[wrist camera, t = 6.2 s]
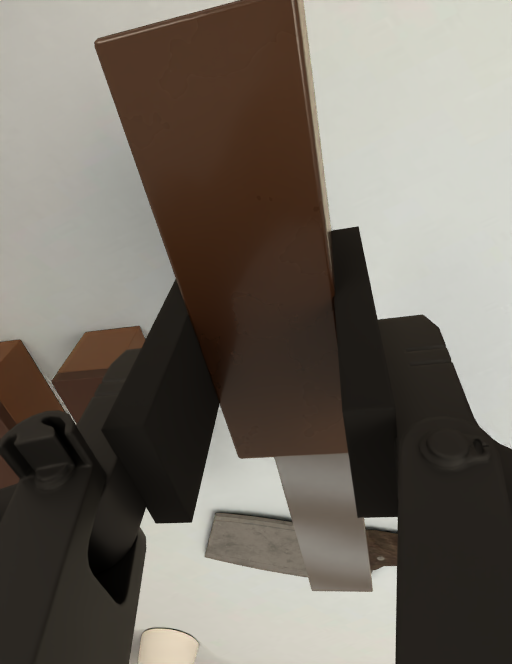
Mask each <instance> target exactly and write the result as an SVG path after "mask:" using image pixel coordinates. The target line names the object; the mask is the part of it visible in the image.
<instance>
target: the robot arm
mask: <svg viewBox="0 0 512 664" xmlns="http://www.w3.org/2000/svg"><path fill="white" fill-rule="evenodd" d="M331 235H332V251H333V266H334V281H335V296H334V304H335V318H336V332H337V346H338V359H339V373H340V387H341V401H342V413H343V420H344V427H345V434H346V441H347V448H348V455H349V462H350V469H351V476H352V483H353V490H354V497H355V504H356V511H357V518H370V517H398V545H397V605H396V664H512V449H510V448H508V447H506V446H503V445H501V444H499V443H498V442H497V441H495V440H494V439H492V438H491V437H490V436H489V435H488V434H487V433H486V432H485V431H484V430H482V429H481V428H480V427H479V425H478V424H477V422H476V420H475V418H474V416H473V414H472V411H471V409H470V406H469V404H468V401H467V398H466V396H465V393H464V391H463V388H462V386H461V383H460V381H459V378H458V375H457V373H456V370H455V368H454V365H453V363H452V362H451V357H450V355H449V352H448V350H447V348H446V345H445V342H444V340H443V337H442V334H441V332H440V329H439V327H437V326H436V325H435V324H434V323H432V322H431V321H430V320H429V319H428V318H426V317H425V316H424V315H415V316H406V317H397V318H388V319H380V320H377V315H376V310H375V305H374V300H373V295H372V290H371V286H370V281H369V276H368V271H367V266H366V261H365V256H364V252H363V247H362V242H361V237H360V232H359V227H352V228H346V229H339V230H333V231H331ZM218 407H219V400H218V397H217V394H216V392H215V389H214V386H213V383H212V380H211V377H210V374H209V372H208V369H207V366H206V363H205V360H204V357H203V354H202V352H201V349H200V346H199V343H198V340H197V337H196V334H195V332H194V329H193V326H192V323H191V320H190V317H189V314H188V312H187V309H186V306H185V303H184V300H183V297H182V294H181V292H180V289H179V286H178V283H177V280H176V279H175V282H174V284H173V286H172V288H171V290H170V292H169V294H168V296H167V298H166V300H165V302H164V304H163V306H162V308H161V310H160V312H159V314H158V316H157V318H156V320H155V322H154V324H153V326H152V328H151V330H150V332H149V334H148V336H147V338H146V340H145V342H144V344H143V346H142V348H138V349H129V350H125V351H124V352H123V353H122V354H121V355H120V356H119V357H118V358H117V359H116V360H115V361H114V362H113V363H112V364H111V365H110V366H109V368H108V370H107V372H106V373H105V375H104V377H103V379H102V384H99V386H98V388H97V390H96V391H95V393H94V397H92V398H91V400H90V402H89V404H88V406H87V407H86V409H85V411H84V413H83V415H82V416H81V418H80V420H79V422H78V423H77V425H75V423H74V422H73V420H72V418H71V417H70V415H69V414H68V413H65V412H63V411H60V410H55V411H45V412H42V413H39V414H36V415H33V416H30V417H29V418H27V419H25V420H23V421H21V422H20V423H18V424H16V425H15V426H14V427H13V428H12V429H10V430H9V431H8V432H7V433H6V434H5V435H3V437H2V438H1V439H0V455H1V456H2V458H3V459H4V460H5V461H6V462H7V464H8V465H9V466H10V467H11V469H12V470H13V471H14V472H15V474H16V475H17V476H18V477H19V479H20V480H19V482H18V483H17V484H14V485H11V486H8V487H5V488H2V489H0V664H129V659H130V653H131V646H132V640H133V633H134V626H135V620H136V613H137V606H138V600H139V593H140V586H141V580H142V573H143V567H144V560H145V553H146V536H145V535H144V533H143V531H142V530H141V528H140V524H141V521H142V518H143V515H144V512H145V509H146V508H147V509H148V511H149V513H150V514H151V516H152V518H153V519H154V521H155V523H190V522H192V520H193V515H194V511H195V507H196V502H197V498H198V494H199V489H200V485H201V481H202V477H203V472H204V468H205V464H206V459H207V455H208V451H209V446H210V442H211V438H212V433H213V429H214V425H215V420H216V416H217V412H218Z"/></svg>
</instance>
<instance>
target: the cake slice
mask: <svg viewBox="0 0 512 664" xmlns="http://www.w3.org/2000/svg"><path fill="white" fill-rule="evenodd" d="M144 342H145V338H144V335H143V333H142V331H141V328H140V326H135V327H126V328H118V329H109V330H100V331H91V332H85V333H84V335H83V336H82V338H81V339H80V341H79V342H78V343H77V345H76V346H75V348H74V349H73V351H72V352H71V354H70V355H69V356H68V358H67V359H66V361H65V362H64V364H63V365H62V367H61V368H60V369H59V371H58V372H57V374H56V375H55V377H54V378H53V380H52V384H53V385H54V387H55V389H56V390H57V392H58V394H59V395H60V397H61V398H62V400H63V402H64V403H65V405H66V407H67V408H68V410H69V412H70V413H71V415H72V417H73V418H74V420H75V422H76V423H78V422H79V420H80V418H81V416H82V415H83V413H84V411H85V409H86V407H87V406H88V404H89V402H90V400H91V398H92V397H94V393H95V391H96V390H97V388H98V386H99V384H102V379H103V377H104V375H105V373H106V372H107V370H108V368H109V366H110V365H111V364H112V363H113V362H114V361H115V360H116V359H117V358H118V357H119V356H120V355H121V354H122V353H123V352H124V351H125V350H129V349H138V348H142V346H143V344H144Z"/></svg>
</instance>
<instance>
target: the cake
mask: <svg viewBox="0 0 512 664" xmlns="http://www.w3.org/2000/svg"><path fill="white" fill-rule="evenodd" d="M55 410H60V411H63V412H64V410H63V408H62V407H61V405H60V403H59V402H58V400H57V399H56V397H55V395H54V394H53V392H52V390H51V389H50V387H49V386H48V384H47V382H46V381H45V379H44V377H43V376H42V374H41V373H40V371H39V369H38V368H37V366H36V364H35V363H34V361H33V360H32V358H31V356H30V355H29V353H28V351H27V350H26V348H25V347H24V345H23V343H22V342H21V340H13V341H5V342H0V439H1V438H2V437H3V435H5V434H6V433H7V432H8V431H9V430H10V429H12V428H13V427H14V426H15V425H16V424H18V423H20V422H21V421H23V420H25V419H27V418H29V417H30V416H33V415H36V414H39V413H42V412H45V411H55ZM19 480H20V479H19V477H18V476H17V475H16V474H15V472H14V471H13V470H12V469H11V467H10V466H9V465H8V464H7V462H6V461H5V460H4V459H3V458H2V456H1V455H0V489H2V488H5V487H8V486H11V485H14V484H17V483H18V482H19Z"/></svg>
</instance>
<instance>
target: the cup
mask: <svg viewBox="0 0 512 664" xmlns="http://www.w3.org/2000/svg"><path fill="white" fill-rule="evenodd" d="M198 647H199V644H198V642H197V641H196V640H195V639H194V638H193V637H191V636H189V635H187V634H185V633H182V632H179V631H175V630H170V629H150V630H147V631H145V632H144V633H143V634H142V637H141V643H140V649H139V658H138V664H194V661H195V658H196V655H197V651H198Z"/></svg>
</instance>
